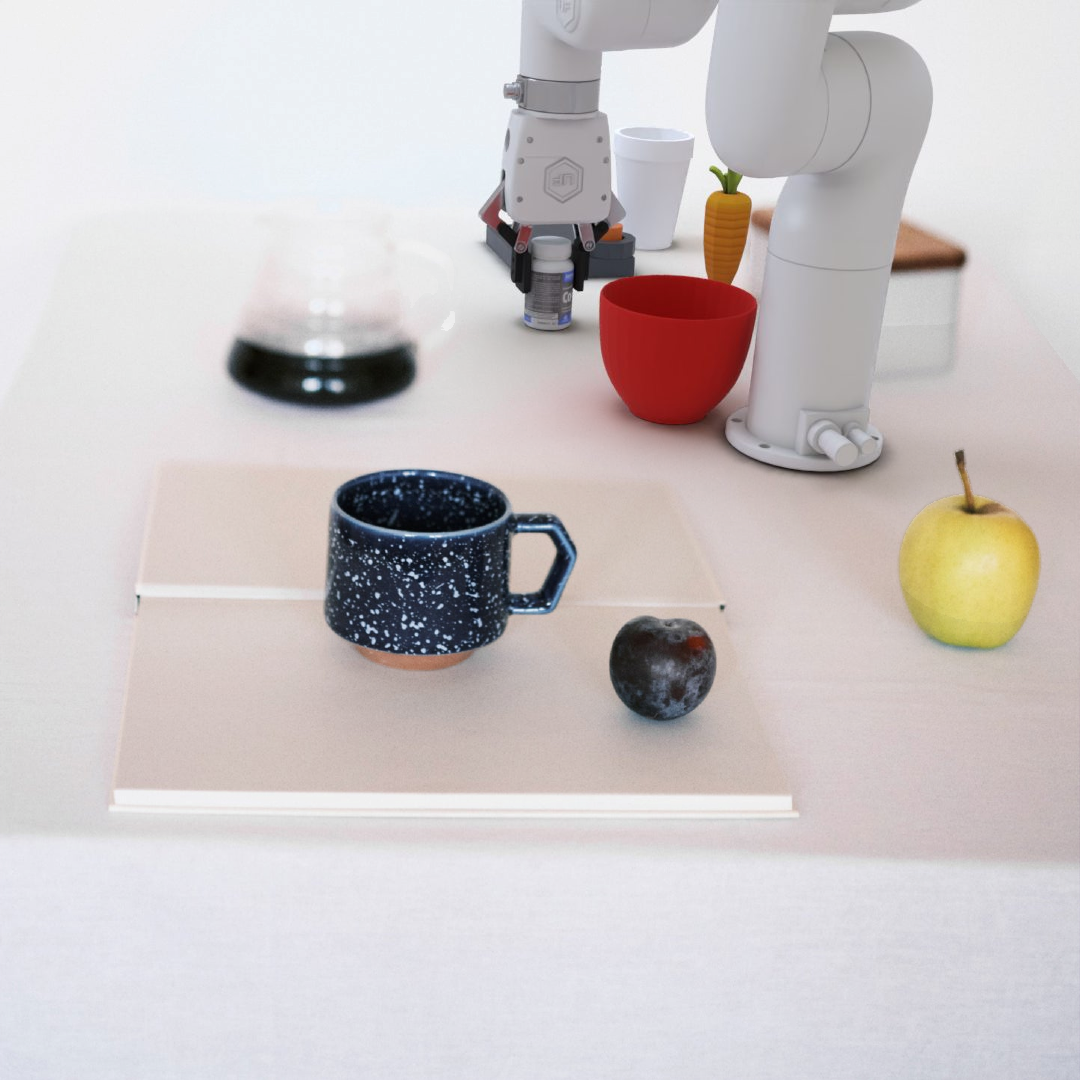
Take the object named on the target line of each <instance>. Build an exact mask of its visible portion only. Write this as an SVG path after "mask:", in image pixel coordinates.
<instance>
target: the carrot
mask: <svg viewBox="0 0 1080 1080" xmlns="http://www.w3.org/2000/svg"><path fill="white" fill-rule="evenodd" d="M708 170H709V172H710V173H712V174H714V175H715V177H716V178H717V180H718V181H719V182H720V185H721V188H722V189H720V190H715V191H713V192H712V193H711V194H710V195H709V196H708V197H707V199H706V202H705V205H704V206H705V207H704V221H703V241H702V242H703V258H704V267H705V273H706V276H707V279H711V280H715V281H719V282H723V283H727V284H730V285H732V284H733V281H734V279H735V277H736V275H737V273H738V271H739V268H740V265H741V262H742V258H743V257H744V252H745V249H746V245H747V239H748V234H749V228H750V221H751V216H752V215H751V214H752V206H753V203H752V198H751V197H750V196H749V195H748V194H746V193H745V192H742V191H738V187H739V185H740V183H741V181H742V179H743V177H744V176H743V175H740V174H738V173H736V172H734V171H732V170H730V169H729V168H728V167H727V171H726V172H725V173H723V172H722V170H721V169H720V168H719V167H717V166H715V165H710V166H709V168H708Z"/></svg>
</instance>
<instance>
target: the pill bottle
mask: <svg viewBox="0 0 1080 1080" xmlns="http://www.w3.org/2000/svg"><path fill="white" fill-rule="evenodd" d="M530 252H531V255H532V265H531V287H530V292H528V293H526V294H524V305H523V306H524V309H523V310H524V311H523V322H524V324H525V325H526V326H527V327H529V328H532V329H535V330H541V331H559V330H564V329H566V328H568V327H569V326H570V325H571V323H572V310H573V294H574V288H573V280H574V279H573V277H574V264H573V262H572V260H571V259H569V257H570V256H571V253H572V242H571V240H569V239H567V238H563V237H557V236H540V237H535V238H533V239H532V240H531V247H530Z"/></svg>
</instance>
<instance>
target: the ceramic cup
mask: <svg viewBox="0 0 1080 1080" xmlns="http://www.w3.org/2000/svg"><path fill="white" fill-rule="evenodd" d="M598 302H599V303H598V304H599V307H598V321H599V322H598V330H599V344H600V353H601V358H602V362H603V366H604V369H605V371H606V375H607V377H608V379H609V381H610V383H611V385H612V386H613V388H614V390H615V392H616V393H617V395H618V396H619V397H620V398H621V400H622V401H623V402H624V404H625V405H626V406H627V407H628V409H629V411H630V412H631V413H632V414H633V415H634V416H636V417H637V418H639V419H642V420H644V421H648V422H653V423H657V424H665V425H687V424H692V423H696V422H699V421H701V420H703V419H705V418H706V416H707V415H708V413H710V412H711V411H713V409H714V408H716V407H717V406H718V405H719V404H720V403H722V401H723V400H724V399H725V398H726V397H727V396H728V394H730V392H731V391H732V389H733V388H734V387H735V385H736V383H737V382H738V380H739V378H740V376H741V374H742V371H743V369H744V366H745V364H746V361H747V357H748V354H749V351H750V348H751V344H752V340H753V335H754V330H755V326H756V325H755V324H756V320H757V315H758V306H759V305H758V301H757V299H756V297H755V296H754V295H753V294H752V293H750V292H748V291H747V290H745V289H744V288H743V289H742V288H741V287H738V286H735V285H733V284H731V285H730V284H727V283H723V282H719V281H715V280H711V279H708V278H704V277H699V276H690V275H678V274H677V275H676V274H643V275H642V274H641V275H634V276H633V277H621V278H618V279H615V280H612V281H610V282H608V283H607V284H605V285H603V287H602V288H601V289H600V292H599V300H598Z"/></svg>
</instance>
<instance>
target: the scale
mask: <svg viewBox="0 0 1080 1080" xmlns="http://www.w3.org/2000/svg"><path fill="white" fill-rule="evenodd" d="M507 224H508V225H509V226H510V227H511V226H512V223H507ZM485 228H486V229H485V231H486V233H485V243H486V245H487V246H488V247H489V248H490V249H491V250H492V252H494V253H495V254H496V255H497V257H499V258H500V259H501V261H503V263H504V264H505V265H506V266H507V267H508V268H509V269H510V270H511V254H512V247H511V246H510V245H509V244H508V243H507V242H506V241H505V239H504V238H503V237H502V236H501V235H500V234H499V233H497V232H496V231H495V230H493V229H492V228H491V227H490V226H488V225H487V224H486V227H485ZM540 236H557V237H563V238H567V239H569V240H571V242H572V244H574V240H575V236H574V231H573V226H572V224H539V225H534V226H533V230H532V233H531V236H530V239H529V243H528V251H529V252H530V247H531V240H532V239H533V238H535V237H540ZM635 243H636V238H635V237H634V236H633V235H631V234H629V233H625V232H623V233H622V240H619V241H604V240H599V241H598V242H597V243H596V244H595V248H594V249H593V250H592V251H590V260H589V276H588V279H608V278H609V279H610V278H626V277H633V276H635V275H634V274H635V263H636V257H635V256H634V255H635V253H636V248H635ZM530 253H531V252H530Z"/></svg>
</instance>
